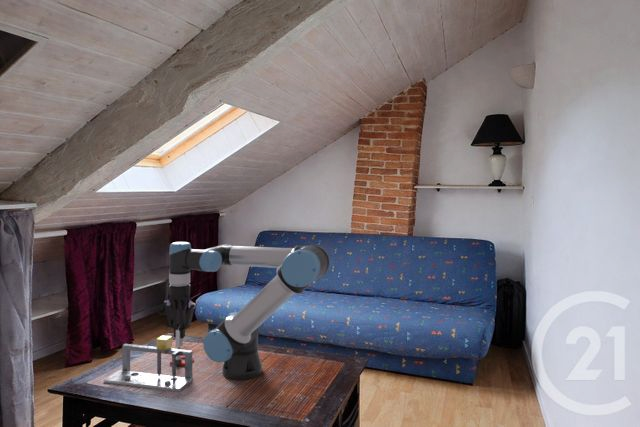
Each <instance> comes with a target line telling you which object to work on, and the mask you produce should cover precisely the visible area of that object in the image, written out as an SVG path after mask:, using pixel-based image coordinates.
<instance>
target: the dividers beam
mask: <svg viewBox="0 0 640 427" xmlns="http://www.w3.org/2000/svg"><path fill="white" fill-rule="evenodd" d="M121 348H122V349H121V355H122V356H121V357H122V361H121V362H122V363H121V364H122V366H121V368H122V369H121V370H124V371H131V351H132V352H133V351H135V352H144V353H154V354H157V349H156V346H150V345H141V344H133V343H132V344H130V343H124V344H122V346H121ZM162 354H163V355H171V361H172V365H171V376H172V377H173V378H175V376H176V377H177V366H176V357H177V356H178V355H180V356H185V359H184V362H185V366H184V378H192V379H193V362H192V358H193V350H190V349H182V348H180V349H177V348H172V347H171V348H169V349H168V350H162V351H161V355H162Z"/></svg>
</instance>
